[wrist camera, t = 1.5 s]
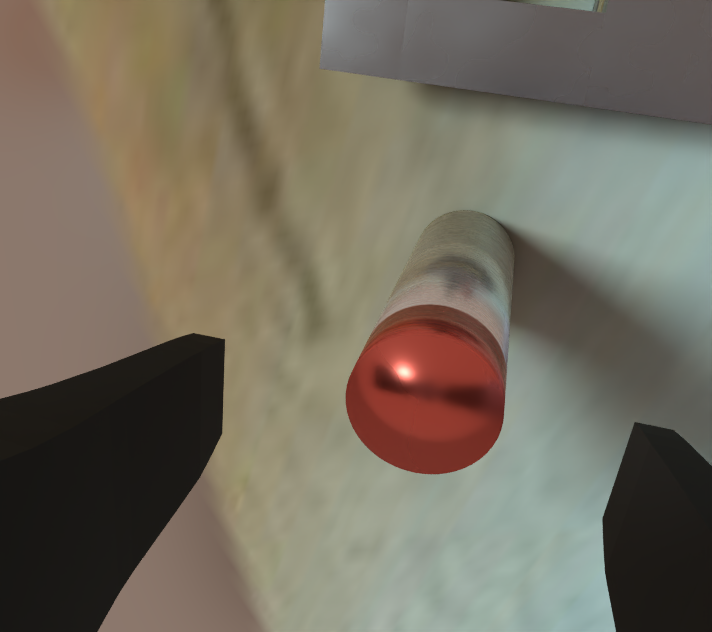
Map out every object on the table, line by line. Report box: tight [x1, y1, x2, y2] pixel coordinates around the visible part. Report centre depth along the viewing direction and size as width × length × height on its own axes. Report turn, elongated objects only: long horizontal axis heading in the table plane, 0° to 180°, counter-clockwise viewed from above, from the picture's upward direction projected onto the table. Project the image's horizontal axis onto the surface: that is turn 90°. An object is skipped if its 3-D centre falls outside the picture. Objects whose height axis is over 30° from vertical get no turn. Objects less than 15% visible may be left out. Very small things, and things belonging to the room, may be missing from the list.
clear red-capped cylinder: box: [346, 210, 514, 474], centre depth 17 cm, size 3×3×9 cm
